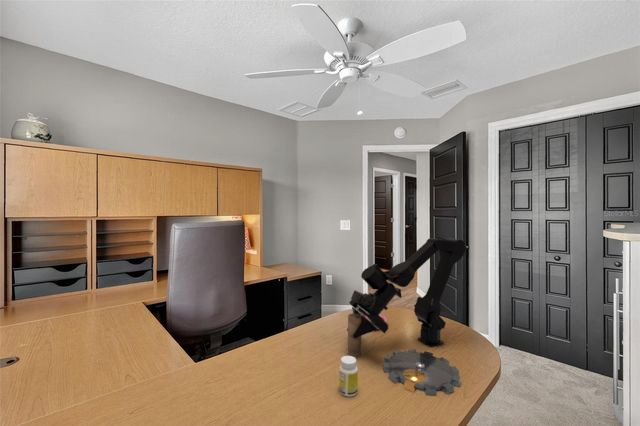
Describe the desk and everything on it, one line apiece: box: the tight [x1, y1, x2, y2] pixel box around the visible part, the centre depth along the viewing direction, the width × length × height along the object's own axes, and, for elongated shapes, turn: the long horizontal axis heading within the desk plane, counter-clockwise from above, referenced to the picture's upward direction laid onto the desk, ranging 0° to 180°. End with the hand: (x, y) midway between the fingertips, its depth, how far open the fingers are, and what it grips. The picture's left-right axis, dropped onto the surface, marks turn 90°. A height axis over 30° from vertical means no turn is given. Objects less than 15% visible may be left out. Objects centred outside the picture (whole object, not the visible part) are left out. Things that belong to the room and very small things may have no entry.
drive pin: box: [347, 313, 362, 358], centre depth 94 cm, size 4×4×12 cm
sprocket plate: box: [382, 348, 461, 396], centre depth 84 cm, size 21×21×2 cm
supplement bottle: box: [338, 355, 359, 398], centre depth 75 cm, size 5×5×8 cm
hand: (350, 334), depth 94 cm, fingers closed on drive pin, 4 cm apart
